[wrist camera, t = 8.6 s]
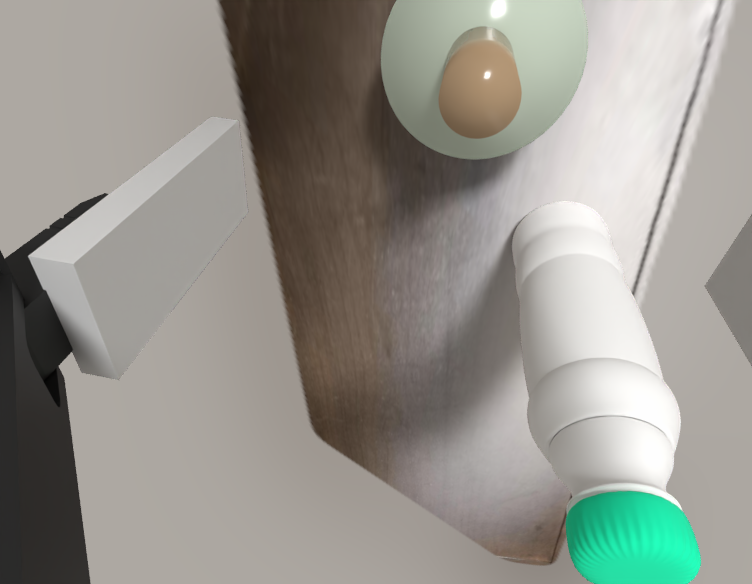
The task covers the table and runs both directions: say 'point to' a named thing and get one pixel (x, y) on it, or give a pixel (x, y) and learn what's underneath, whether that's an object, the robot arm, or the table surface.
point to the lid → (482, 70)
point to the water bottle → (599, 401)
